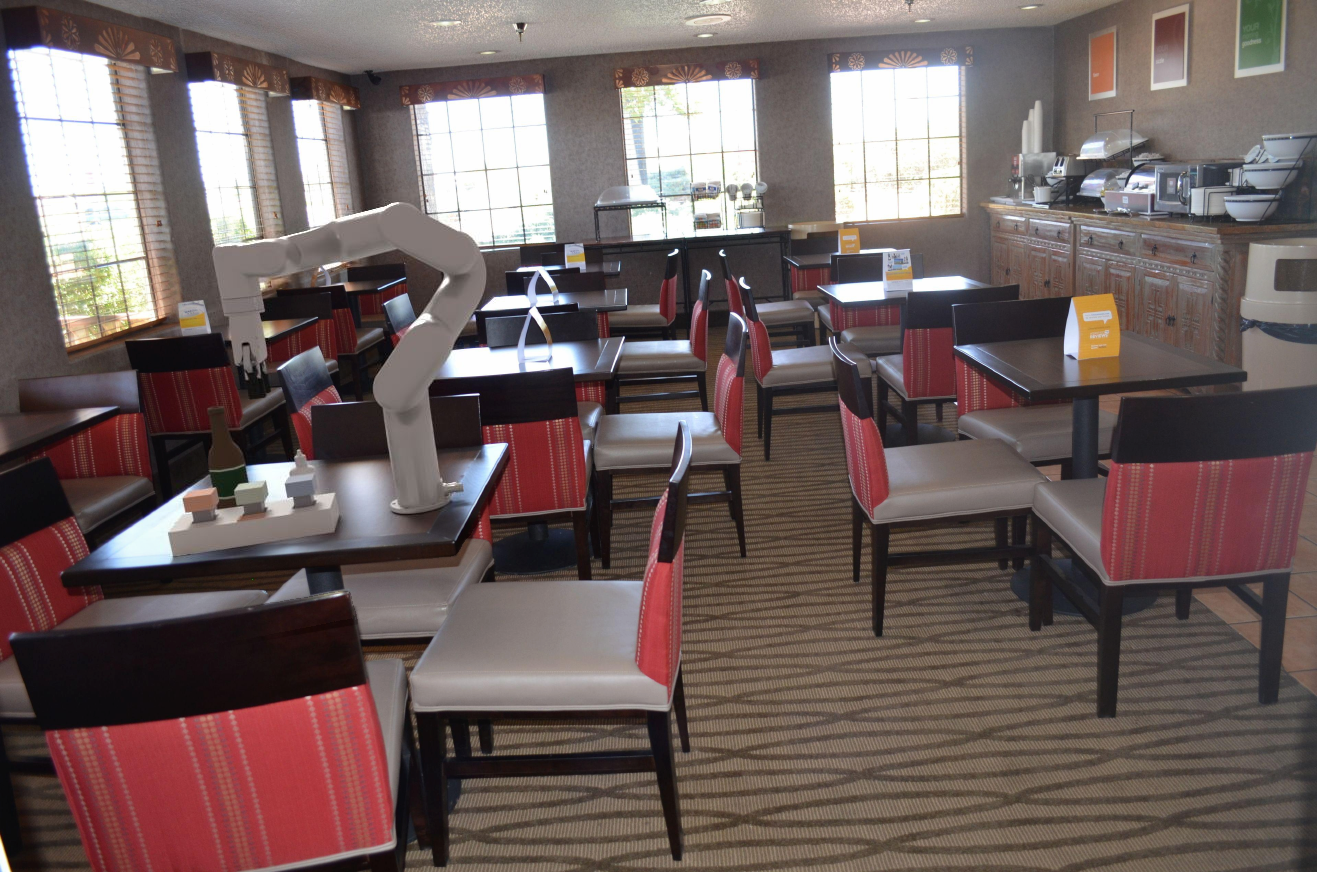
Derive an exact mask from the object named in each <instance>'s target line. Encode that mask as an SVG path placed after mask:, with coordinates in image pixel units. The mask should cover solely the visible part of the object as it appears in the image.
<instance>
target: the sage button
mask: <svg viewBox="0 0 1317 872" xmlns="http://www.w3.org/2000/svg"><path fill="white" fill-rule="evenodd" d="M234 494H235V498H236V503H237V505H243V508H244V513H245V515H251V514H258V513H265V512H266V507H265V503H266V502H265V501H266V500H267V499H268V496H269V489H268V484H267V480H259V481H253V482H249V483H244V484H239V485H238V486H237V487H236V489H235V490H234Z"/></svg>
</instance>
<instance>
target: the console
mask: <svg viewBox="0 0 1317 872" xmlns="http://www.w3.org/2000/svg"><path fill="white" fill-rule="evenodd" d="M320 494H321V493H320ZM314 502H315V506H309V507H302V508H296V509H295V506H294V501H293V498H287V499H283V500H282V499H281V500H275V501H274V500H273V501H268V502H265V507H266V512H265V513H258V514H251V515H245V513H244V508H243V506H239V507H233V508H226V509H219V510H217V509H215V513H216V519H215V521H208V522H201V523H195V524H194V520H193V516H192V513H187V514H186V513H185V514H182V515H181V516H180V517H179V519H178V520H177V521H176V522H175V523H174V525H173V526H171V528H170V529H169V530H168V531H167V535H168V540H169V545H170V548H171V549H170V550H171V553H172V557H173V556H177V557H181V556H180V555H183V556H188V555H187V554H190V555H195V554H201V553H207V552H215V551H222V550H227V549H232V548H233V549H234V548H240V547H247V546H254V545H259V544H267V543H272V542H278V541H279V542H280V541H285V540H292V539H300V538H306V537H312V536H318V535H323V534H324V535H325V534H331V533H335V530H336V528H337V524H338V520H339V517H340V511H339V505H338V499H337V494H336V492H331V493H330V492H329V493H323V494H321V495H315V496H314Z"/></svg>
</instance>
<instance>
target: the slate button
mask: <svg viewBox="0 0 1317 872" xmlns="http://www.w3.org/2000/svg"><path fill="white" fill-rule="evenodd" d="M284 487H285V489H284V490H285V494H286V498H287V499H293V501H294V506H295V509H296V508H302V507H309V506H315V502H314V496H313V494H315V492H316V489H317V483H316V478H315V473H314V474H307V475H300V476H293V477H290V476H288V477H287V478H286V480H285V482H284Z"/></svg>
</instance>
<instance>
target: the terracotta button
mask: <svg viewBox="0 0 1317 872" xmlns="http://www.w3.org/2000/svg"><path fill="white" fill-rule="evenodd" d="M218 502H219V498H218V493H217V489H216V487H215V488H213V487H210V488H208V487H207V488H204V489H203V488H202V489H195V490H188V491H187V492H186V494H185V495H184V496H182V503H183V508H184V513H185V514H186V513H187V514H189V513H191V514H192V516H193V520H194V524H195V523H201V522H208V521H215V519H216V513H215V510H216V509H215V508H216V507H217V506H216V505H217V504H218Z"/></svg>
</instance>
